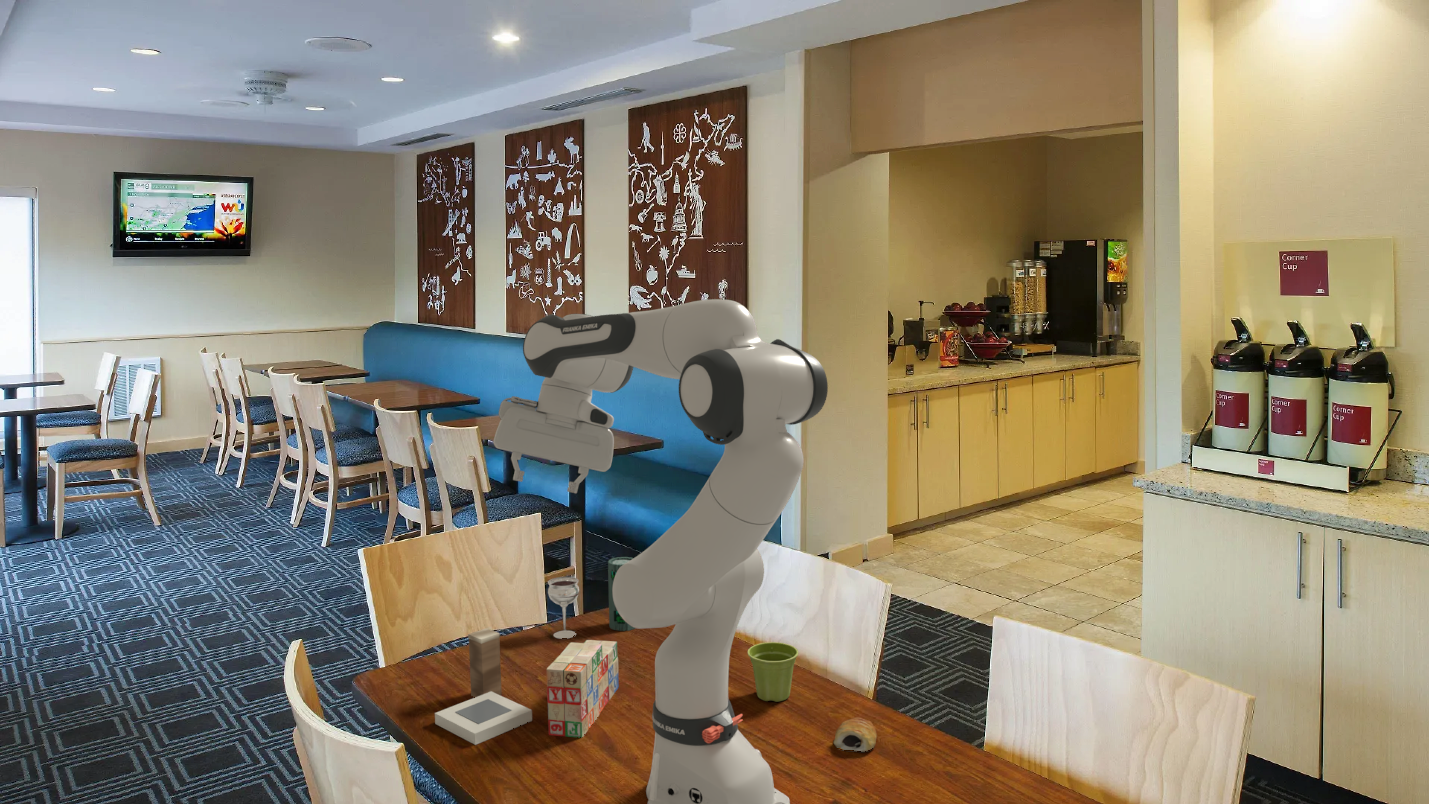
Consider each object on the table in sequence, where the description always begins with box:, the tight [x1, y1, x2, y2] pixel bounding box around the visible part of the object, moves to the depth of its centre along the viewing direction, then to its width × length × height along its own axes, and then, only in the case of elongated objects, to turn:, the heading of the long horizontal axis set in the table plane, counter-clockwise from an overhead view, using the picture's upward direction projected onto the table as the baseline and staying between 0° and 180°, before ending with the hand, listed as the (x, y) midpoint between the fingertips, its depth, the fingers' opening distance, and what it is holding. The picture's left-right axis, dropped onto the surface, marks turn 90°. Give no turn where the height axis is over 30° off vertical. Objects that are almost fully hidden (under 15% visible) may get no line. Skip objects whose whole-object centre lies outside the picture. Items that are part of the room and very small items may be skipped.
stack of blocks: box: [546, 639, 620, 739], centre depth 182 cm, size 21×6×12 cm, turn 168°
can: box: [607, 556, 636, 632], centre depth 224 cm, size 6×6×15 cm
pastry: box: [833, 716, 878, 753], centre depth 170 cm, size 9×7×4 cm
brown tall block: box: [467, 627, 503, 698], centre depth 188 cm, size 4×4×12 cm
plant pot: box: [747, 641, 799, 703], centre depth 187 cm, size 9×9×9 cm
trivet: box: [434, 691, 533, 746], centre depth 178 cm, size 12×12×2 cm
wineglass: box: [547, 576, 580, 640], centre depth 219 cm, size 7×7×12 cm
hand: (544, 486), depth 171 cm, fingers open, 8 cm apart
